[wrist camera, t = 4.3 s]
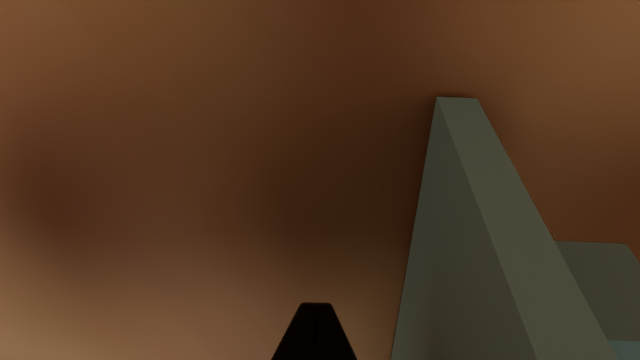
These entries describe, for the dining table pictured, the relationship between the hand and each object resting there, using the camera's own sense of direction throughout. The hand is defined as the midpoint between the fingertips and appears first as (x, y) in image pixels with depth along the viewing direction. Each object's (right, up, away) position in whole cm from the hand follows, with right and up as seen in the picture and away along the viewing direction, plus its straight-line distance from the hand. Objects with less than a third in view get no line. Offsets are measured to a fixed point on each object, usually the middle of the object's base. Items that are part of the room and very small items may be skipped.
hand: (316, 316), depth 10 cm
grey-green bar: (+3, -2, +4) cm, 6 cm away
